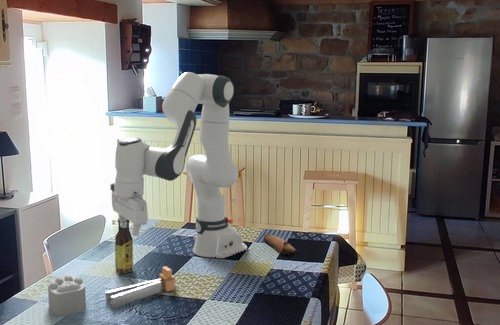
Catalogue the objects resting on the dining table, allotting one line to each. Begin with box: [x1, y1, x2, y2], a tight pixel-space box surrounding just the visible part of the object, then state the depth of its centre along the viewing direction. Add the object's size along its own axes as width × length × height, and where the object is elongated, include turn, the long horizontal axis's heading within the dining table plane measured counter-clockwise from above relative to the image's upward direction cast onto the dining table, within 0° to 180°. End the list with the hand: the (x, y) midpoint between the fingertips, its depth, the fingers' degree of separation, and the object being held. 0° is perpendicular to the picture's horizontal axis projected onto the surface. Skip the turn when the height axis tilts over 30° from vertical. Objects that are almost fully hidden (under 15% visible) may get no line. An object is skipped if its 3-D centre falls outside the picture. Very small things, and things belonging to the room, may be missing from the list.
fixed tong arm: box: [105, 274, 176, 304], centre depth 178 cm, size 24×1×4 cm, turn 126°
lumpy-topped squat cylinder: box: [47, 274, 87, 317], centre depth 169 cm, size 10×13×9 cm
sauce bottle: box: [114, 217, 134, 274], centre depth 195 cm, size 7×6×20 cm
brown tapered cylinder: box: [263, 233, 297, 255], centre depth 225 cm, size 18×7×7 cm
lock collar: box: [158, 265, 176, 292], centre depth 183 cm, size 3×5×7 cm, turn 36°
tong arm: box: [110, 281, 162, 308], centre depth 175 cm, size 18×1×4 cm, turn 134°
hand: (129, 231), depth 173 cm, fingers open, 8 cm apart
